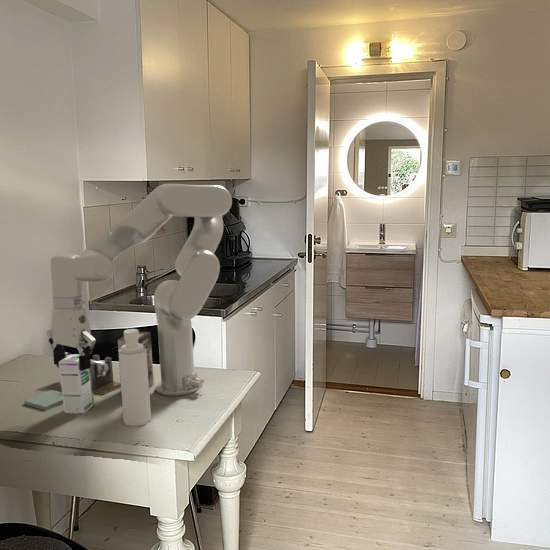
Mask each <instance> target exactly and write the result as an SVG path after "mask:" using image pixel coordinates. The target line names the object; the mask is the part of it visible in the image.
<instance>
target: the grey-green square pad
mask: <svg viewBox="0 0 550 550" xmlns="http://www.w3.org/2000/svg"><path fill="white" fill-rule="evenodd" d="M23 404H24V405H26V406H28V407H29V406H30V407H33V408H37V409H41V410H43V411H48V410H50V409H53V408H55V407H57V406H59V404H60V405H62V404H63V396H62V391H59V390H58V391H57V390H54V389H50V390H47V391H45V392H43V393H40V394H38V395H35V396H33V397H30V398H28V399H26V400H24V401H23Z"/></svg>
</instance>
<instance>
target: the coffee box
mask: <svg viewBox="0 0 550 550" xmlns="http://www.w3.org/2000/svg"><path fill="white" fill-rule="evenodd" d="M151 333H152V332H149V331H139V338H138V343H140V344H143V346H145V347H146V353H147V367H148V382H149V389H150V388H151V387H153V386H154V384H155V382H154V367H153V354H152V353H153V351H152V337H151V336H152V335H151ZM125 344H126V343H125V339H124V336H122V337H120V338H119V339H117V348H118V349H117V352H118V354H119V351H118V350H119V349H120V348H121V347H122V346H123V345H125ZM118 366H119V367H118V368H119V369H120V365H119V364H118ZM119 380H120V381H119V383H121V378H120V377H119ZM120 394H121V395H122V392H121V391H120Z"/></svg>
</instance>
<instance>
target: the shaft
mask: <svg viewBox="0 0 550 550" xmlns="http://www.w3.org/2000/svg"><path fill="white" fill-rule="evenodd" d="M70 354H71V353H70V352H67V351H65V358H66V357H68V356H69V355H70ZM90 361H91V363H97V371H98V374H99V375H105V374H106V373H107V372H108V369H109V367H108V364H107V363H105V362H102V361H100V362H98V361H93V359H90ZM55 366H56V367H57V369H59V364H57V365H55Z"/></svg>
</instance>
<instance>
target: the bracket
mask: <svg viewBox="0 0 550 550" xmlns="http://www.w3.org/2000/svg"><path fill="white" fill-rule="evenodd" d="M92 360H93V361H98V362H101V358H100V355H99V354H93V355H92ZM112 361H113V359H112V357H110V356H107V357H105V358H104V363H107V364H108V367H109V369H108V372H107V373H106V374H105V375H99V374H98V371H97V363H91V367H90V369H91V379H92V388H93V393H94V392H98V393H102V394H101V395H103V394H104V393H106V394H108V393H110V392H109V391H111V392H112V390H113V391H115V390H117V389H119V388H121V382H120V381H114V372H113V362H112ZM116 388H117V389H116ZM114 389H115V390H114ZM107 392H108V393H107ZM98 393H97V394H98ZM104 395H105V394H104Z"/></svg>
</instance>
